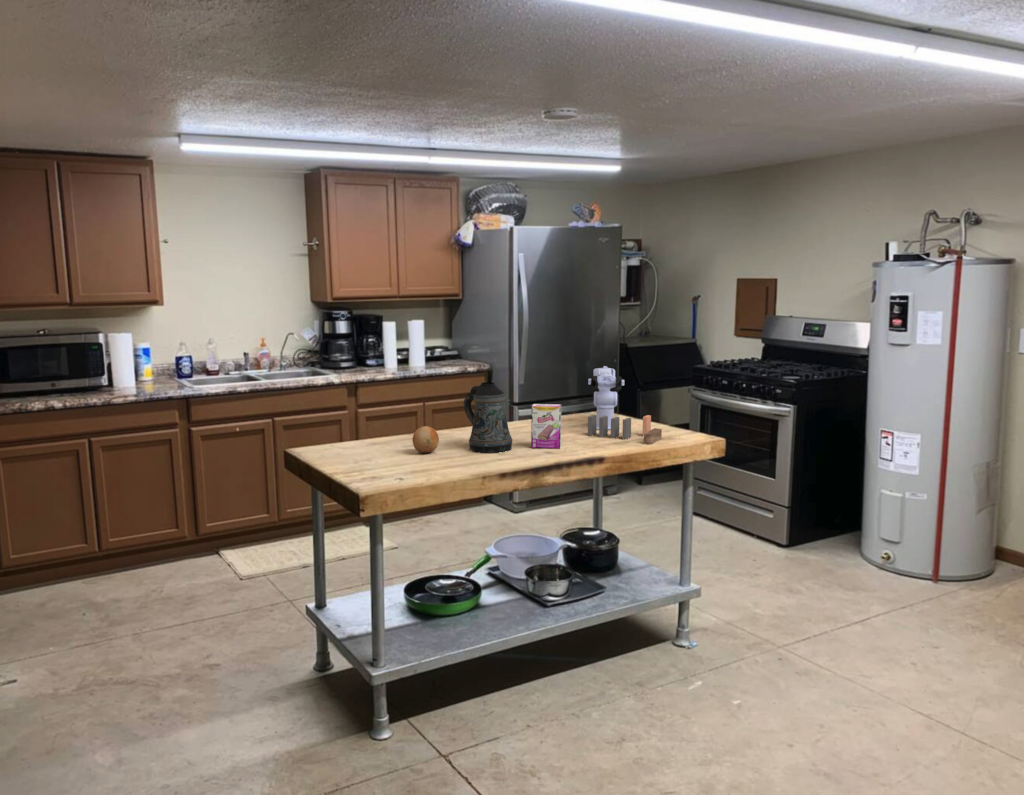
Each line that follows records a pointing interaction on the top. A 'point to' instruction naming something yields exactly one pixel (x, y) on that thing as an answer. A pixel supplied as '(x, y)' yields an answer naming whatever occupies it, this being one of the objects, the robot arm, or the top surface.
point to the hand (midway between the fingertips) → (606, 386)
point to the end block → (652, 436)
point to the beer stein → (488, 419)
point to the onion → (425, 439)
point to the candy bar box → (546, 426)
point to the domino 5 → (646, 424)
